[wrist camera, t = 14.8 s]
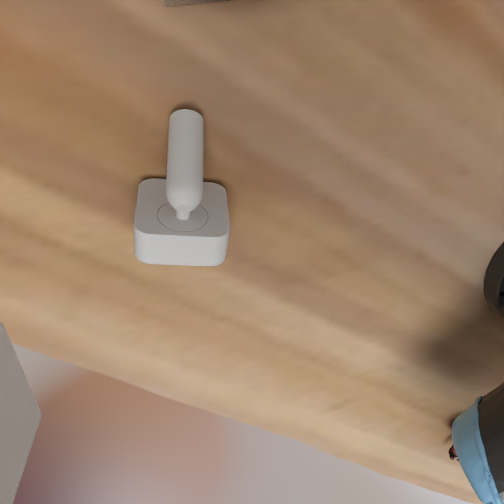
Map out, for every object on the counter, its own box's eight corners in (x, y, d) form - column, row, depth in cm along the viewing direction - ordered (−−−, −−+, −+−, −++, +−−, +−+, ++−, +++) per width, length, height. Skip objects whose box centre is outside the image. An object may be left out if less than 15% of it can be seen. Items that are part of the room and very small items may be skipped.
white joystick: (232, 107, 42) (242, 167, 34) (220, 200, 48) (226, 267, 41) (140, 98, 40) (130, 158, 33) (141, 195, 47) (133, 263, 40)
